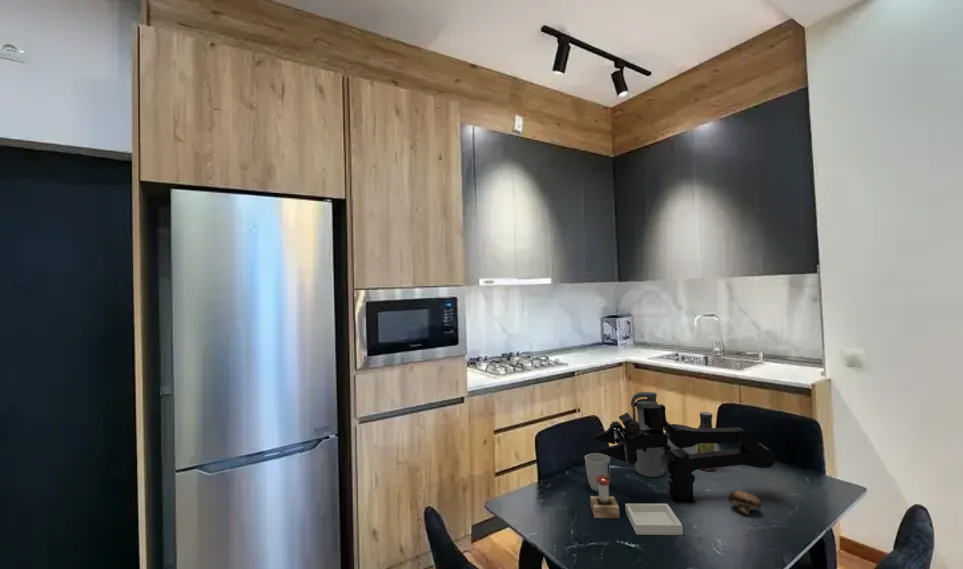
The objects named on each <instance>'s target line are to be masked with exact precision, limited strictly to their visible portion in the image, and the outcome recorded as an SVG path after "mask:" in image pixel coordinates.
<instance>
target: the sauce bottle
mask: <svg viewBox="0 0 963 569" xmlns="http://www.w3.org/2000/svg"><path fill="white" fill-rule="evenodd" d="M699 417H700V423H699V426H698V428H713V424H712V423H713V413H711V412H709V411H700V412H699ZM715 451H717V443H701V444H697V445H696V453H705V452H715ZM716 469H717V468H708V469H701V470H702V471H707V472H713V471H715V470H716Z"/></svg>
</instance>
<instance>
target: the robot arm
mask: <svg viewBox="0 0 963 569" xmlns="http://www.w3.org/2000/svg"><path fill="white" fill-rule="evenodd" d="M642 412H643V419H644V424H645V425H647V426H648V428H651V429H646V430H641V429H640V425H639V423H638V420H636V421H633V417H632V416H631V415H630V414H629V413H628V412H626V413H624V414H621V415H619V416H618V419H619V420H620V421H621V423H622V424H621V423H620V422H619V421H616V420H615V421H611V424H610V425H609V427H608V429H607V430H604V431H602V432H600V433H598V434H596V435H594V436H593V437H592V439H593V441H595V442H601V443H606V444H610V445H611V446H606V447H601V448H599V449H598V452H599V453H600V454H604V455H607V456H609V457H610V458H611V457H612V458H614V459H616V460H618V461H621V462H623V463H627V464H628V465H635V463H636V462H637V461H638V460H637V451H636V450H642V451H643V452H647V451H646V449H652V448H661V450H662V451H663V452H664V453H663V455H662V456H661V464H662V465H663V467H664V468H665V471H666V472H667V473H668V474H669V475H668V480H667V481H666V486H667V495H668V497H669V498H670V499H671V501H673V502H674V503H697V502H696V499H695V498H694V482H695V480H696V476H695V475H694V474H693V473H694V472H695V471H699V470H702V469H708V468H716V469H717V468H726V467H727V468H728V467H735V466H747V467H753V468H757V469H759V468H760V469H770V468H772V467H774V465H775V463H776V461H777V457H776V454H775V452H774V451H773V450H771V449H770V448H768V447H767V446H764V445H763V444H761V443H760V442H758V441H756V440H755V439H754V438H753V437H752V436H751V435H750V434H749V433H748V432H747V431H745V430H744V429H742V428H741V427H738V426H733V427H712V428H697V427H691V426H688V425H684V424H679V423H669V422H668V421H667V417H666V405H664V404H662V403H661V404H658V403H657V404H651V403H648V404H644V405H642ZM623 426H624V427H623ZM664 431H665V432H664ZM668 441H669V442H671V444H673V445H674V447H676V449H675V448H674V449H672V447H671V445H669V443H668ZM701 443H716V444H738V445H739V447H737V448H736V449H734V448H733V449H727V450H716V451H715V452H705V453H697V452H696V453H688V452H687V451H686V450H685V449H687V448H693V447H695V446H697V444H701Z"/></svg>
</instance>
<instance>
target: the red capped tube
mask: <svg viewBox="0 0 963 569" xmlns="http://www.w3.org/2000/svg"><path fill="white" fill-rule="evenodd" d="M596 481H597V482H598V488H599V491H598V496H599V505H610V500H609V496H610V483H611V477H610V475H609V476H606V475H599V476H597V477H596Z"/></svg>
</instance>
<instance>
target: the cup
mask: <svg viewBox="0 0 963 569" xmlns="http://www.w3.org/2000/svg"><path fill="white" fill-rule="evenodd" d="M584 461H585V462H584V465H585V471H586V475H587V481H588V483H589V486H590V489H591V490H593V491H595V492H599V488H598V482H597V481H596V477H597V476H599V475H606V476H609V477H610V474H611V457H610V456H607V455H604V454H602V453H600V452H599V453H597V452H595V453H593V452H592V453H589V454H588V453H587V454H586V455H584Z"/></svg>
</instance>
